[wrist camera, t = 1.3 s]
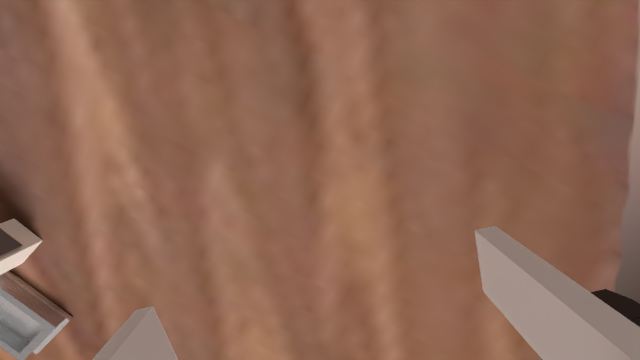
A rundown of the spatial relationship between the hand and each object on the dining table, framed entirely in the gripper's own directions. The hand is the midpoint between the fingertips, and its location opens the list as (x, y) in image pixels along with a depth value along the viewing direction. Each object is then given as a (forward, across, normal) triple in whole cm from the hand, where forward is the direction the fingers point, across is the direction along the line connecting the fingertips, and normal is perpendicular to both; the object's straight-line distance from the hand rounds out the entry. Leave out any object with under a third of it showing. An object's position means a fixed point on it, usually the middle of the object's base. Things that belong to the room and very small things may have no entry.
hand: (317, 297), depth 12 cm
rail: (+23, -44, -5) cm, 50 cm away
